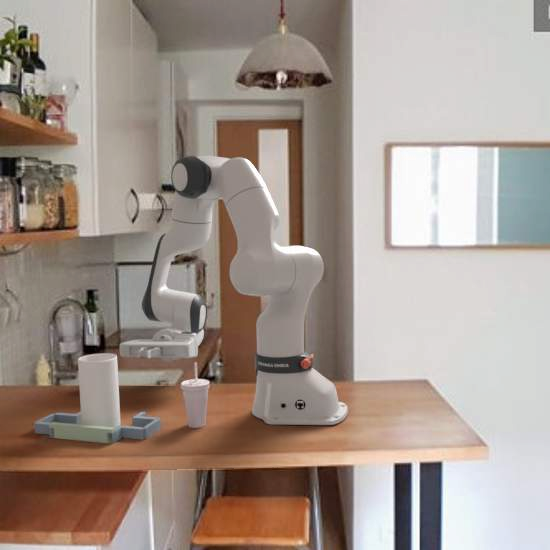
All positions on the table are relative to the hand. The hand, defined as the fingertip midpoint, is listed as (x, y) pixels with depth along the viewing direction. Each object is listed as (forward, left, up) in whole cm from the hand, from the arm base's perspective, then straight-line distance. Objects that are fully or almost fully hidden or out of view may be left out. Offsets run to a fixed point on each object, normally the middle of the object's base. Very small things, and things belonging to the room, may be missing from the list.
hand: (142, 354), depth 142 cm
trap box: (0, +19, -13) cm, 22 cm away
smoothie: (-20, +12, -13) cm, 26 cm away
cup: (+1, +18, -13) cm, 22 cm away
